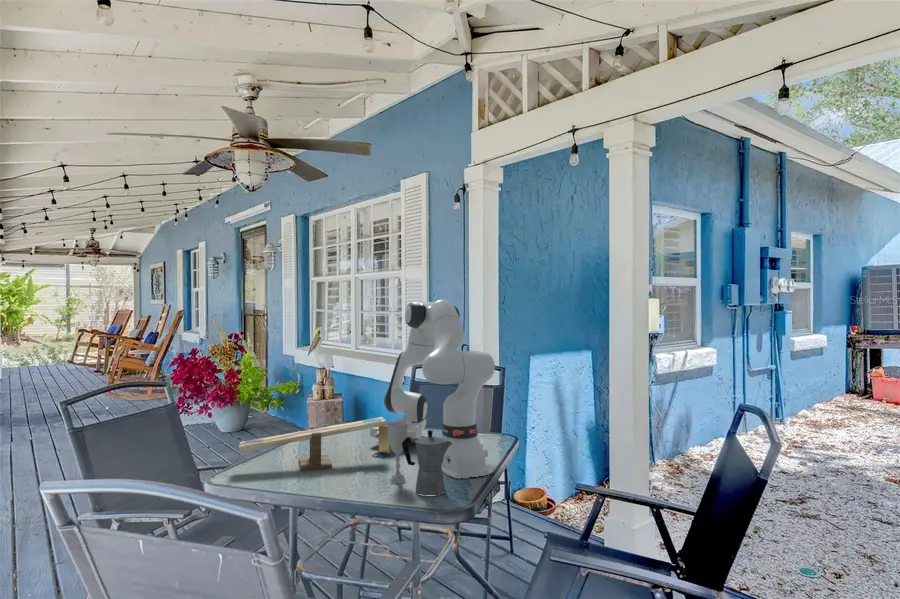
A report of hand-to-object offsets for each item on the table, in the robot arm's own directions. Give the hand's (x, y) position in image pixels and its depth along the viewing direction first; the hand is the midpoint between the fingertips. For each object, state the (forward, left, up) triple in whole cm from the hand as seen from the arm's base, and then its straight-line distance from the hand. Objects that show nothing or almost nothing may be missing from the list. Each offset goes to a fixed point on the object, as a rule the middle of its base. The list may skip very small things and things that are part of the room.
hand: (385, 437), depth 203 cm
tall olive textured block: (+1, -1, -6) cm, 6 cm away
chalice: (-35, +3, -6) cm, 36 cm away
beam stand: (-8, +26, -6) cm, 28 cm away
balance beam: (-8, +26, +4) cm, 28 cm away
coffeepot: (-47, -3, -6) cm, 48 cm away
